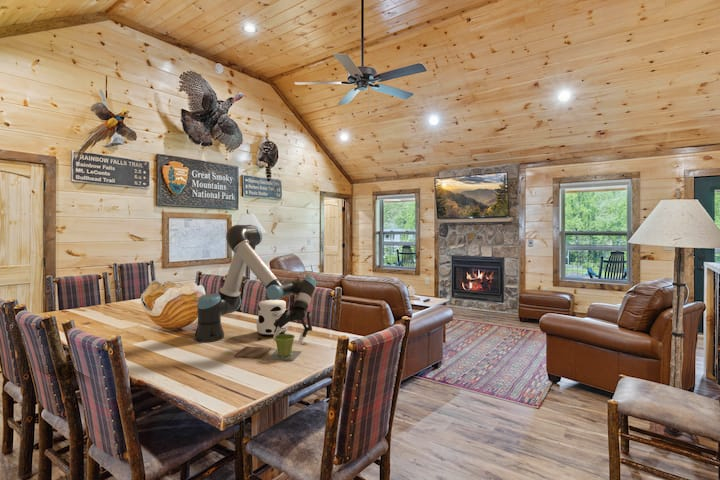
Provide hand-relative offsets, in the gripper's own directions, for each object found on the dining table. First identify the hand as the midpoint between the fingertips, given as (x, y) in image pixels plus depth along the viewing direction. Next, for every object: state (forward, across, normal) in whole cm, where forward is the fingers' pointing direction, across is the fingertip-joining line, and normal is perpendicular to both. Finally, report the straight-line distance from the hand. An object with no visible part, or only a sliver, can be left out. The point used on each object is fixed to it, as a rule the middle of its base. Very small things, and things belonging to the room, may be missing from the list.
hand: (287, 341), depth 181 cm
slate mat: (+5, +1, -4) cm, 7 cm away
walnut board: (+7, +17, -2) cm, 18 cm away
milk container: (-16, +26, -26) cm, 40 cm away
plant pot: (+5, +1, -4) cm, 7 cm away
